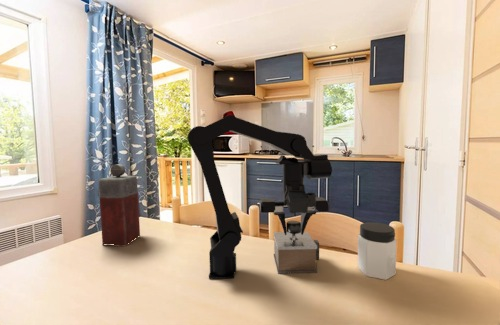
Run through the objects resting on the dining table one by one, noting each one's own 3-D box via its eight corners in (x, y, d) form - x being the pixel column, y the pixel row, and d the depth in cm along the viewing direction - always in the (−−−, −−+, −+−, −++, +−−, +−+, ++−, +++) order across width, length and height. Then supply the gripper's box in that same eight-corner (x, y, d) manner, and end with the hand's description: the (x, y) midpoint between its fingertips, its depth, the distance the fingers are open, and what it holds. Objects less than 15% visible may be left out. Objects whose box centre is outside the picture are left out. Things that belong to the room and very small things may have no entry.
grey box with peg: (277, 273, 65) (277, 246, 64) (273, 255, 75) (273, 232, 74) (323, 272, 65) (323, 245, 64) (313, 254, 75) (313, 231, 74)
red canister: (143, 234, 95) (140, 162, 93) (125, 246, 84) (121, 165, 82) (122, 233, 96) (118, 162, 94) (102, 245, 85) (96, 165, 83)
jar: (382, 283, 59) (383, 235, 58) (352, 269, 66) (352, 226, 65) (400, 272, 64) (402, 227, 63) (370, 260, 71) (371, 220, 70)
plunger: (281, 267, 66) (281, 228, 65) (278, 254, 74) (277, 218, 73) (311, 267, 66) (311, 227, 65) (304, 253, 74) (304, 218, 73)
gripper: (261, 185, 60) (262, 247, 61) (337, 183, 60) (336, 245, 61) (259, 178, 71) (260, 231, 72) (323, 177, 71) (323, 229, 72)
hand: (293, 234), depth 69 cm, fingers open, 4 cm apart
